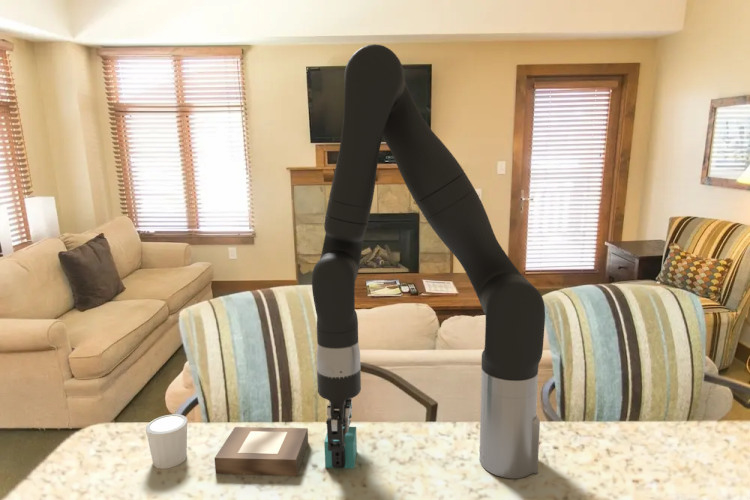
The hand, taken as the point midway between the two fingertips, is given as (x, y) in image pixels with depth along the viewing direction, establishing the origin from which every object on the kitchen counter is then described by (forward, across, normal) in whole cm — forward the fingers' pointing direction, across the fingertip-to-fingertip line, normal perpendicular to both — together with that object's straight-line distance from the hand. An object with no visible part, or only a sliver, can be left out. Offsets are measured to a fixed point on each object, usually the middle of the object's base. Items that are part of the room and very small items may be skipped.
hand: (341, 455), depth 86 cm
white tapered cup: (+1, -1, +31) cm, 31 cm away
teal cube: (+1, 0, 0) cm, 1 cm away
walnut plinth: (+1, 0, +14) cm, 14 cm away
